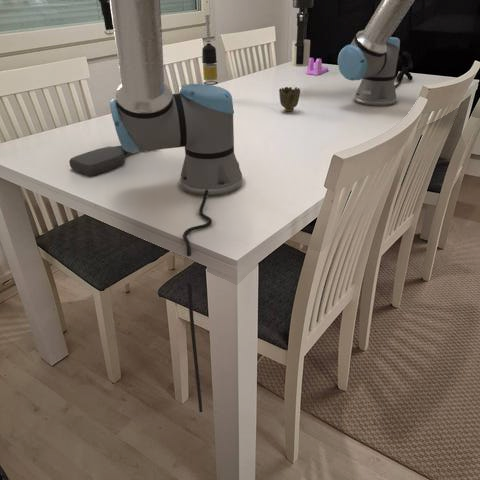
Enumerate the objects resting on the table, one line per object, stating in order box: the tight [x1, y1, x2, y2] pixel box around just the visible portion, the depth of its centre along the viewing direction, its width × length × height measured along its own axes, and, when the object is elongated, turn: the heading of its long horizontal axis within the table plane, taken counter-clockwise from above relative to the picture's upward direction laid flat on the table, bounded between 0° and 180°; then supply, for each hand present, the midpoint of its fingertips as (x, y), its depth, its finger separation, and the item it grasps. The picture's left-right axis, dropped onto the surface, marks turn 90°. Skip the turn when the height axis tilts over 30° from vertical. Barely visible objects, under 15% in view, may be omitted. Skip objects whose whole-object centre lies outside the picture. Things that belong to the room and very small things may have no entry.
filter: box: [201, 14, 219, 86], centre depth 171 cm, size 6×6×30 cm
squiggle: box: [394, 51, 414, 83], centre depth 198 cm, size 11×10×15 cm
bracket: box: [306, 57, 329, 76], centre depth 216 cm, size 13×6×7 cm, turn 143°
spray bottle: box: [68, 145, 133, 177], centre depth 124 cm, size 3×11×24 cm
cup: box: [278, 86, 301, 114], centre depth 159 cm, size 8×7×8 cm
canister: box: [291, 38, 311, 68], centre depth 172 cm, size 7×7×9 cm
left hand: (127, 31), depth 117 cm, fingers open, 13 cm apart
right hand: (300, 62), depth 174 cm, fingers closed on canister, 7 cm apart
